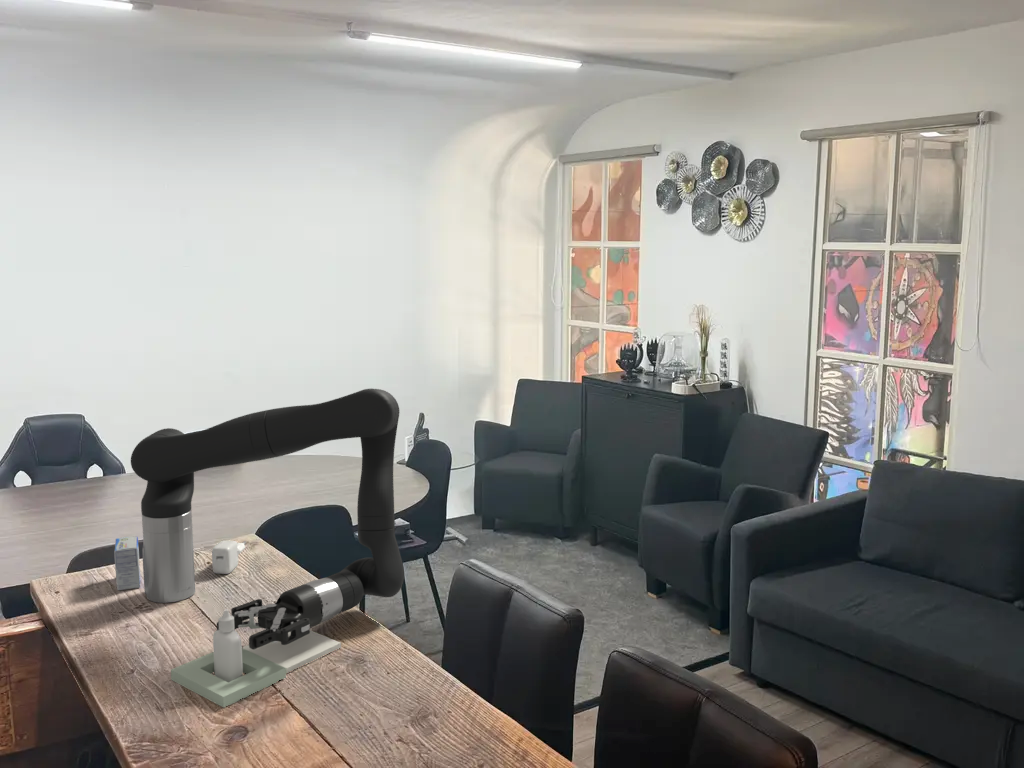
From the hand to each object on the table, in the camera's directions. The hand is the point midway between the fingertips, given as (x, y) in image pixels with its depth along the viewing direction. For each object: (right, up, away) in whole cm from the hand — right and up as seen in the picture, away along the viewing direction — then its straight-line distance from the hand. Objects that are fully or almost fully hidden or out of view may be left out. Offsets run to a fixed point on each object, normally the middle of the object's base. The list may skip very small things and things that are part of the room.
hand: (234, 636), depth 151 cm
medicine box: (-34, 0, +39) cm, 52 cm away
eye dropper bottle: (-1, -7, 0) cm, 7 cm away
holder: (-1, -7, 0) cm, 7 cm away
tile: (+7, -5, +10) cm, 14 cm away
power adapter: (-16, +2, +50) cm, 52 cm away
